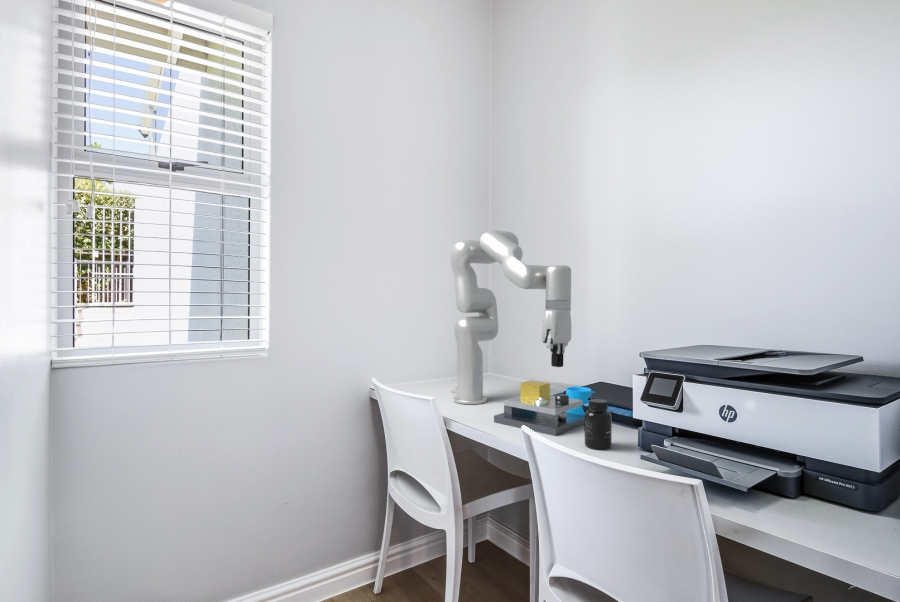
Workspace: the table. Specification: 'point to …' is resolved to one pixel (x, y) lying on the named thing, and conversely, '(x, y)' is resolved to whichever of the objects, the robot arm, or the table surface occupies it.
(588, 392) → the mug
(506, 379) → the table surface
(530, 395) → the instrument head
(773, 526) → the table surface
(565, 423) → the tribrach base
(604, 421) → the supplement bottle
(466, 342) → the robot arm
